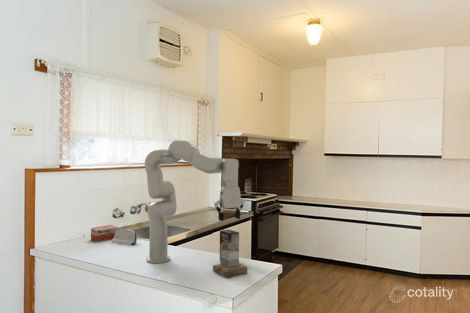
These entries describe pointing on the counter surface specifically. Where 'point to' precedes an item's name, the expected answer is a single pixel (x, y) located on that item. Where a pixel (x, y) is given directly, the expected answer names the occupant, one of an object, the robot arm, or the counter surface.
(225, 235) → the coffee box
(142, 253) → the counter surface
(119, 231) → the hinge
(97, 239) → the medicine box
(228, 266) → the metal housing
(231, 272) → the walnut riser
